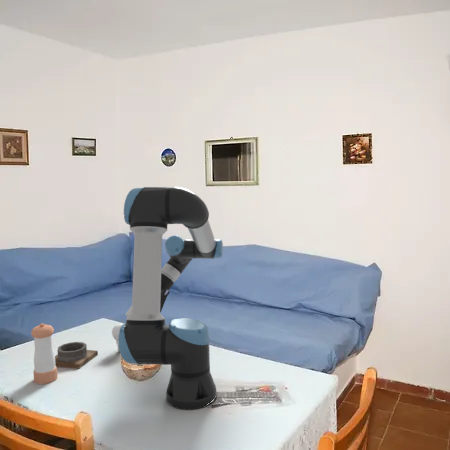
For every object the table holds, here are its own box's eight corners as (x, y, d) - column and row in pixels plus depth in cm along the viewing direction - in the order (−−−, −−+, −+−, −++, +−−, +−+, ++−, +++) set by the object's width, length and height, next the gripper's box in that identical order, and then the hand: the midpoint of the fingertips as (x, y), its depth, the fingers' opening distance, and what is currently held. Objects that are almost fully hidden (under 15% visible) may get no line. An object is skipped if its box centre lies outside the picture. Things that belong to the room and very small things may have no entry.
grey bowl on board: (78, 368, 159) (78, 355, 159) (46, 365, 163) (45, 352, 162) (97, 354, 172) (97, 341, 171) (67, 352, 175) (66, 339, 175)
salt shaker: (47, 372, 157) (44, 319, 155) (62, 377, 153) (58, 322, 151) (29, 381, 151) (25, 325, 149) (43, 385, 147) (39, 328, 145)
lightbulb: (112, 349, 177) (111, 322, 175) (128, 347, 178) (127, 320, 177) (113, 355, 171) (112, 327, 169) (130, 353, 172) (129, 325, 171)
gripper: (188, 288, 176) (155, 334, 169) (159, 277, 197) (128, 318, 190) (176, 277, 173) (141, 323, 166) (147, 267, 193) (115, 308, 186)
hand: (134, 320), depth 178 cm, fingers open, 13 cm apart
